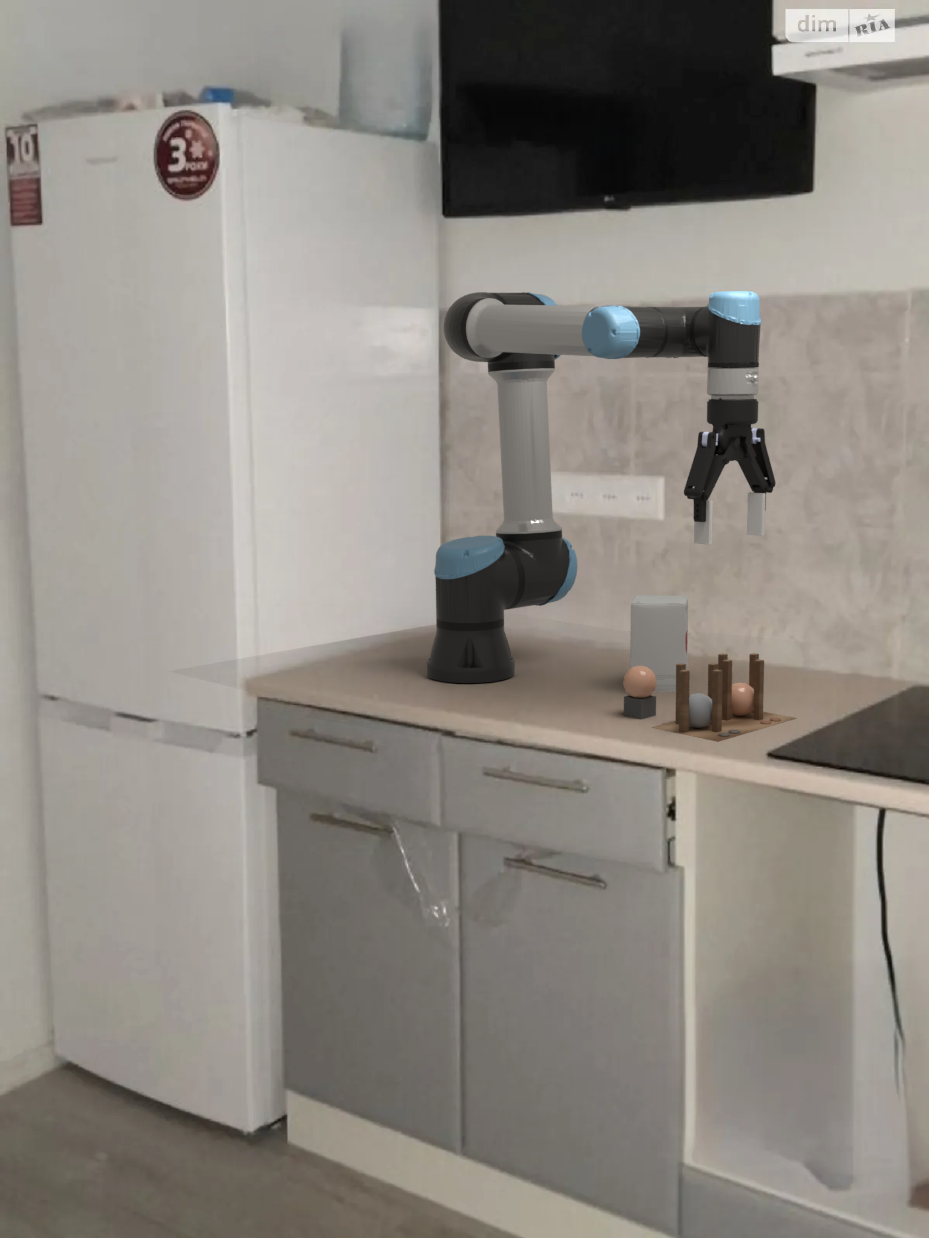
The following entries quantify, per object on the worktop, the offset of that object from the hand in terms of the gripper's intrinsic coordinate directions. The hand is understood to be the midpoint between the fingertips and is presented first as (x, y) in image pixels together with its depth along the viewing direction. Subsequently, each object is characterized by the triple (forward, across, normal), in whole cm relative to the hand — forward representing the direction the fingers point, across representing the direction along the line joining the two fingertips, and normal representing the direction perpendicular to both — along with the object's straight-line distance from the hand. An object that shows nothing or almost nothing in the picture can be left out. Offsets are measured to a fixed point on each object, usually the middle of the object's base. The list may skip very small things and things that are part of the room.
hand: (729, 539), depth 230 cm
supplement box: (+27, +4, +16) cm, 32 cm away
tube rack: (+26, -10, -6) cm, 29 cm away
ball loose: (+20, -14, +6) cm, 26 cm away
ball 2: (+26, -4, -6) cm, 27 cm away
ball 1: (+26, -14, -5) cm, 30 cm away
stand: (+26, -14, +6) cm, 30 cm away
